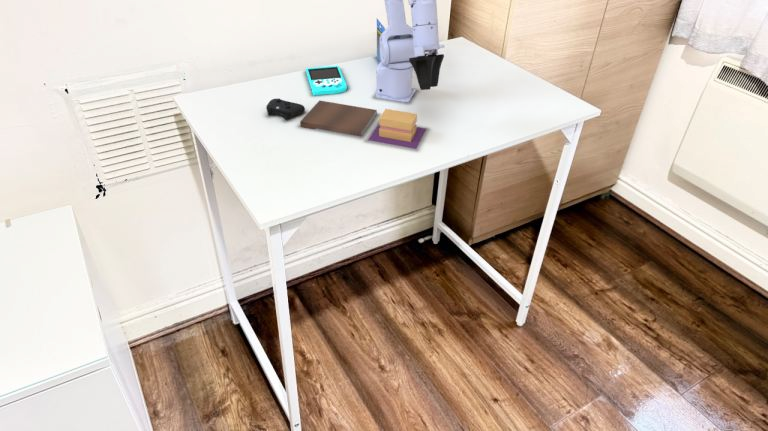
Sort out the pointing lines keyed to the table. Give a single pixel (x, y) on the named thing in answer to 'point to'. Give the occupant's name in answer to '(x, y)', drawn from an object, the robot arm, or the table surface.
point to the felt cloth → (412, 144)
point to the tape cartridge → (379, 32)
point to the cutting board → (339, 118)
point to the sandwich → (397, 125)
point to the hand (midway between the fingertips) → (429, 88)
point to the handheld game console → (326, 80)
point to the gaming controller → (284, 108)
